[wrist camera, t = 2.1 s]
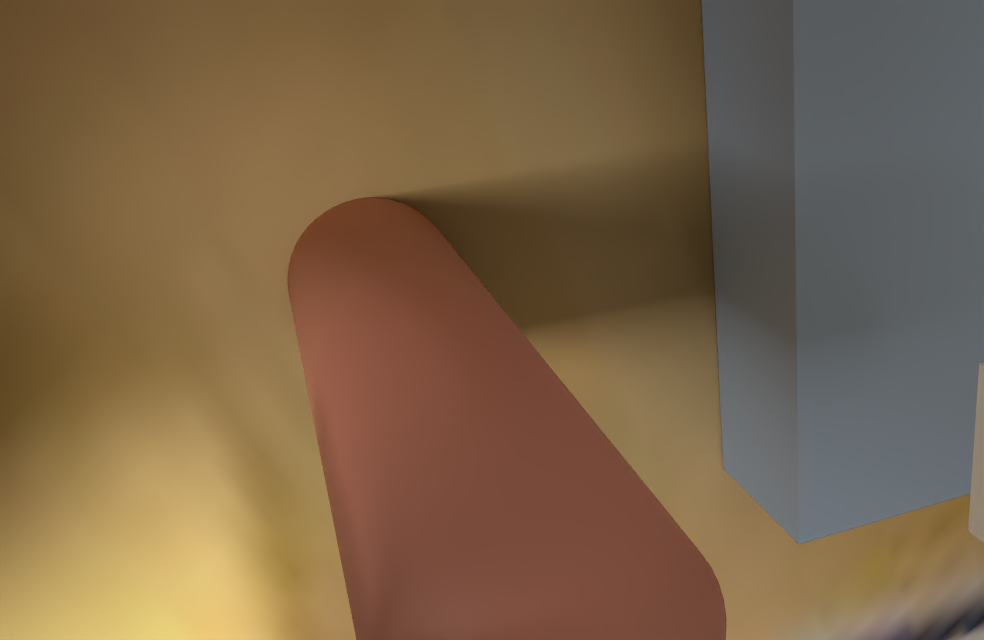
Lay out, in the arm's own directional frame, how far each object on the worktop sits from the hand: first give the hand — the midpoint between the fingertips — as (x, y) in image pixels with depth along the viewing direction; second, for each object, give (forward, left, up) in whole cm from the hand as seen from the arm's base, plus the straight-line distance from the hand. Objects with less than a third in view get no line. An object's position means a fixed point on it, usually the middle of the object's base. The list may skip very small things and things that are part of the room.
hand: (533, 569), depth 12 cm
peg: (0, 0, -12) cm, 12 cm away
